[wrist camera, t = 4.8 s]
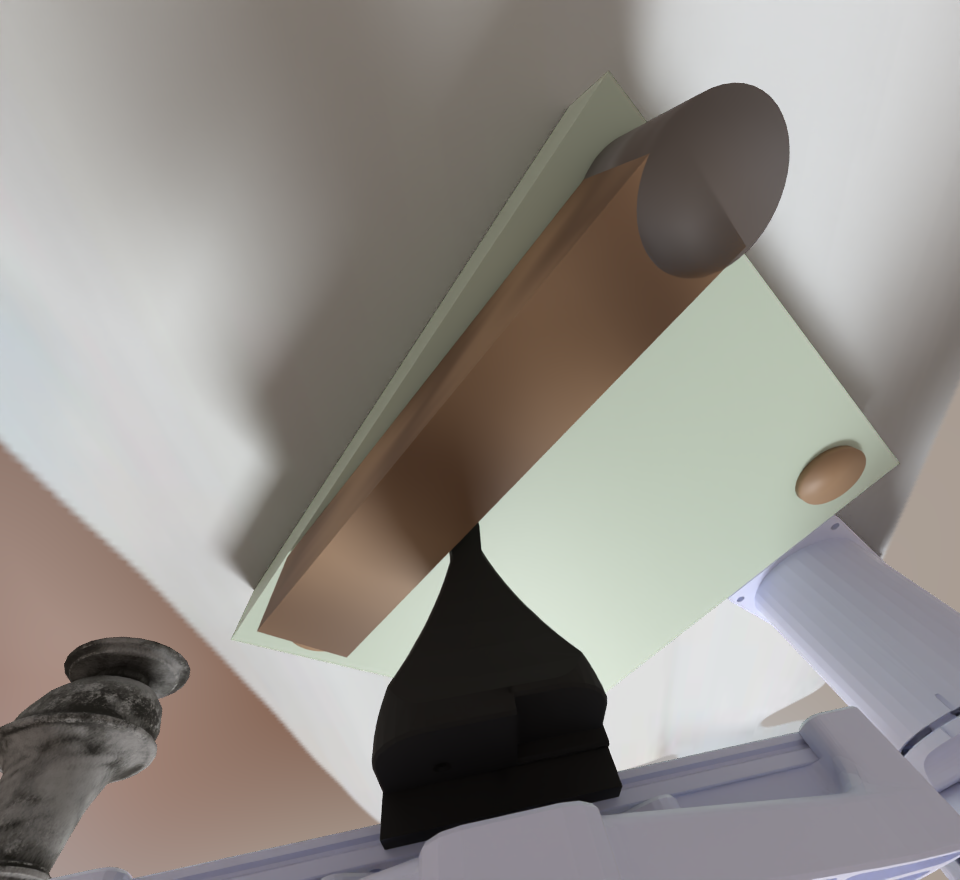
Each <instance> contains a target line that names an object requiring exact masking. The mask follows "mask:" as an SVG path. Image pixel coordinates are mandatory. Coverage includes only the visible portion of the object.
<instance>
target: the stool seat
mask: <svg viewBox="0 0 960 880" xmlns="http://www.w3.org/2000/svg"><path fill="white" fill-rule="evenodd" d="M644 123H646V120H645V119H644V118H643V116H642V115H641V114H640V112H639V111H638V110H637V108H636V107H635V105H634V104H633V103H632V101H631V100H630V99H629V97H628V96H627V95H626V93H625V92H624V91H623V89H622V88H621V87H620V85H619V84H618V83H617V81H616V80H615V79H614V77H613V76H612V74H611V73H610V72H609V71H607V72H606V73H605V74H604V75H603V76H602V77H601V78H600V79H599V80H598V81H596V82H595V83H594V84H593V85H592V86H591V87H590V88H589V89H588V90H586V91H585V92H584V93H583V94H582V95H581V96H580V97H579V98H578V99H577V100H575V101H574V102H573V103H572V104H571V105H570V106H569V107H568V109H567V110H566V112H565V113H564V115H563V116H562V118H561V119H560V121H559V123H558V124H557V126H556V127H555V129H554V130H553V132H552V133H551V135H550V136H549V138H548V139H547V141H546V143H545V144H544V146H543V147H542V149H541V150H540V152H539V153H538V155H537V156H536V158H535V159H534V161H533V162H532V164H531V166H530V167H529V169H528V170H527V172H526V173H525V175H524V176H523V178H522V179H521V181H520V182H519V184H518V186H517V187H516V189H515V190H514V192H513V193H512V195H511V196H510V198H509V199H508V201H507V202H506V204H505V206H504V207H503V209H502V210H501V212H500V213H499V215H498V216H497V218H496V219H495V221H494V222H493V224H492V225H491V227H490V229H489V230H488V232H487V233H486V235H485V236H484V238H483V239H482V241H481V242H480V244H479V245H478V247H477V249H476V250H475V252H474V253H473V255H472V256H471V258H470V259H469V261H468V262H467V264H466V265H465V267H464V269H463V270H462V272H461V273H460V275H459V276H458V278H457V279H456V281H455V282H454V284H453V285H452V287H451V288H450V290H449V292H448V293H447V295H446V296H445V298H444V299H443V301H442V302H441V304H440V305H439V307H438V308H437V310H436V312H435V313H434V315H433V316H432V318H431V319H430V321H429V322H428V324H427V325H426V327H425V328H424V330H423V332H422V333H421V335H420V336H419V338H418V339H417V341H416V342H415V344H414V345H413V347H412V348H411V350H410V351H409V353H408V355H407V356H406V358H405V359H404V361H403V362H402V364H401V365H400V367H399V368H398V370H397V371H396V373H395V375H394V376H393V378H392V379H391V381H390V382H389V384H388V385H387V387H386V388H385V390H384V391H383V393H382V395H381V396H380V398H379V399H378V401H377V402H376V404H375V405H374V407H373V408H372V410H371V411H370V413H369V414H368V416H367V418H366V419H365V421H364V422H363V424H362V425H361V427H360V428H359V430H358V431H357V433H356V434H355V436H354V438H353V439H352V441H351V442H350V444H349V445H348V447H347V448H346V450H345V451H344V453H343V454H342V456H341V457H340V459H339V461H338V462H337V464H336V465H335V467H334V468H333V470H332V471H331V473H330V474H329V476H328V477H327V479H326V481H325V482H324V484H323V485H322V487H321V488H320V490H319V491H318V493H317V494H316V496H315V497H314V499H313V501H312V502H311V504H310V505H309V507H308V508H307V510H306V511H305V513H304V514H303V516H302V517H301V519H300V520H299V522H298V524H297V525H296V527H295V528H294V530H293V531H292V533H291V534H290V536H289V537H288V539H287V540H286V542H285V544H284V545H283V547H282V548H281V550H280V551H279V553H278V554H277V556H276V557H275V559H274V560H273V562H272V564H271V565H270V567H269V568H268V570H267V571H266V573H265V574H264V576H263V577H262V579H261V580H260V582H259V583H258V585H257V587H256V588H255V590H254V591H253V593H252V596H251V598H250V600H249V602H248V604H247V606H246V608H245V611H244V613H243V615H242V617H241V619H240V621H239V623H238V626H237V628H236V630H235V632H234V634H233V636H232V638H231V640H233V641H238V642H242V643H246V644H251V645H255V646H259V647H263V648H268V649H272V650H276V651H280V652H285V653H289V654H293V655H298V656H302V657H306V658H310V659H315V660H319V661H323V662H327V663H332V664H336V665H340V666H345V667H349V668H353V669H357V670H362V671H366V672H370V673H374V674H379V675H383V676H387V677H392V678H394V676H395V674H396V673H397V671H398V670H399V668H400V667H401V665H402V664H403V662H404V661H405V659H406V658H407V656H408V654H409V653H410V651H411V649H412V647H413V646H414V644H415V642H416V640H417V639H418V637H419V635H420V633H421V631H422V630H423V628H424V626H425V624H426V622H427V620H428V618H429V615H430V613H431V611H432V609H433V607H434V605H435V602H436V600H437V597H438V595H439V593H440V590H441V587H442V585H443V582H444V579H445V576H446V573H447V570H448V566H449V563H450V556H449V553H448V554H447V555H446V556H445V557H444V558H443V559H442V560H441V561H440V562H439V563H438V564H437V565H436V566H435V567H434V568H433V569H432V570H431V571H430V573H429V574H428V575H427V576H426V577H425V578H424V579H423V580H422V581H421V582H420V583H419V584H418V585H417V586H416V587H415V588H414V589H413V590H412V591H411V592H410V593H409V594H408V595H407V596H406V597H405V598H404V599H403V600H402V601H401V602H400V603H399V604H398V605H397V606H396V607H395V609H394V610H393V611H392V612H391V613H390V614H389V615H388V616H387V617H386V618H385V619H384V620H383V621H382V622H381V623H380V624H379V625H378V626H377V627H376V628H375V629H374V630H373V631H372V632H371V633H370V634H369V635H368V636H367V637H366V638H365V639H364V640H363V641H362V642H361V643H360V645H359V646H358V647H357V648H356V649H355V650H354V651H353V652H352V653H351V654H350V655H349V656H348V657H347V658H346V657H343V656H339V655H336V654H332V653H329V652H325V651H322V650H319V649H315V648H312V647H308V646H305V645H302V644H298V643H295V642H291V641H288V640H284V639H281V638H278V637H274V636H271V635H267V634H264V633H261V632H257V630H258V627H259V625H260V622H261V620H262V617H263V615H264V613H265V610H266V608H267V605H268V603H269V600H270V598H271V595H272V593H273V591H274V588H275V586H276V583H277V581H278V578H279V576H280V573H281V571H282V569H283V566H284V564H285V561H286V559H287V557H288V555H289V554H290V553H291V551H292V550H293V549H294V548H295V546H296V545H297V544H298V543H299V541H300V540H301V539H302V537H303V536H304V535H305V534H306V532H307V531H308V530H309V529H310V527H311V526H312V525H313V523H314V522H315V521H316V520H317V518H318V517H319V516H320V515H321V513H322V512H323V511H324V509H325V508H326V507H327V506H328V504H329V503H330V502H331V501H332V499H333V498H334V497H335V495H336V494H337V493H338V492H339V490H340V489H341V488H342V487H343V485H344V484H345V483H346V481H347V480H348V479H349V478H350V476H351V475H352V474H353V473H354V471H355V470H356V469H357V467H358V466H359V465H360V464H361V462H362V461H363V460H364V459H365V457H366V456H367V455H368V453H369V452H370V451H371V450H372V448H373V447H374V446H375V445H376V443H377V442H378V441H379V439H380V438H381V437H382V436H383V434H384V433H385V432H386V431H387V429H388V428H389V427H390V425H391V424H392V423H393V422H394V420H395V419H396V418H397V417H398V415H399V414H400V413H401V411H402V410H403V409H404V408H405V406H406V405H407V404H408V403H409V401H410V400H411V399H412V397H413V396H414V395H415V394H416V392H417V391H418V390H419V389H420V387H421V386H422V385H423V383H424V382H425V381H426V380H427V378H428V377H429V376H430V375H431V373H432V372H433V371H434V369H435V368H436V367H437V366H438V364H439V363H440V362H441V361H442V359H443V358H444V357H445V355H446V354H447V353H448V352H449V350H450V349H451V348H452V347H453V345H454V344H455V343H456V341H457V340H458V339H459V338H460V336H461V335H462V334H463V333H464V331H465V330H466V329H467V327H468V326H469V325H470V324H471V322H472V321H473V320H474V319H475V317H476V316H477V315H478V313H479V312H480V311H481V310H482V308H483V307H484V306H485V305H486V303H487V302H488V301H489V299H490V298H491V297H492V296H493V294H494V293H495V292H496V291H497V289H498V288H499V287H500V285H501V284H502V283H503V282H504V280H505V279H506V278H507V277H508V275H509V274H510V273H511V271H512V270H513V269H514V268H515V266H516V265H517V264H518V263H519V261H520V260H521V259H522V257H523V256H524V255H525V254H526V252H527V251H528V250H529V249H530V247H531V246H532V245H533V243H534V242H535V241H536V240H537V238H538V237H539V236H540V235H541V233H542V232H543V231H544V229H545V228H546V227H547V226H548V224H549V223H550V222H551V221H552V219H553V218H554V217H555V215H556V214H557V213H558V212H559V210H560V209H561V208H562V207H563V205H564V204H565V203H566V201H567V200H568V199H569V198H570V196H571V195H572V194H573V193H574V191H575V190H576V189H577V187H578V186H579V185H580V184H581V182H582V181H583V180H584V178H585V175H586V173H587V171H588V169H589V168H590V166H591V164H592V163H593V161H594V160H595V158H596V157H597V156H598V155H599V153H600V152H601V151H602V150H603V149H604V148H605V147H606V146H607V145H608V144H610V143H611V142H612V141H614V140H615V139H617V138H618V137H620V136H622V135H624V134H626V133H628V132H629V131H631V130H633V129H635V128H637V127H639V126H641V125H643V124H644ZM898 464H900V463H899V462H898V460H897V459H896V458H895V456H894V455H893V453H892V452H891V451H890V449H889V448H888V447H887V445H886V444H885V443H884V441H883V440H882V439H881V437H880V436H879V435H878V433H877V432H876V431H875V429H874V428H873V427H872V425H871V424H870V422H869V421H868V420H867V418H866V417H865V416H864V414H863V413H862V412H861V410H860V409H859V408H858V406H857V405H856V404H855V402H854V401H853V400H852V398H851V397H850V395H849V394H848V393H847V391H846V390H845V389H844V387H843V386H842V385H841V383H840V382H839V381H838V379H837V378H836V377H835V375H834V374H833V373H832V371H831V370H830V369H829V367H828V366H827V364H826V363H825V362H824V360H823V359H822V358H821V356H820V355H819V354H818V352H817V351H816V350H815V348H814V347H813V346H812V344H811V343H810V342H809V340H808V339H807V337H806V336H805V335H804V333H803V332H802V331H801V329H800V328H799V327H798V325H797V324H796V323H795V321H794V320H793V319H792V317H791V316H790V315H789V313H788V312H787V311H786V309H785V308H784V306H783V305H782V304H781V302H780V301H779V300H778V298H777V297H776V296H775V294H774V293H773V292H772V290H771V289H770V288H769V286H768V285H767V284H766V282H765V281H764V279H763V278H762V277H761V275H760V274H759V273H758V271H757V270H756V269H755V267H754V266H753V265H752V263H751V262H750V261H749V259H748V258H747V257H746V255H745V254H743V255H742V256H741V257H740V258H739V259H738V260H736V261H735V262H734V263H733V264H731V265H730V266H728V267H726V268H725V269H724V270H723V271H722V272H721V273H720V274H719V275H718V276H717V277H716V278H715V279H714V280H713V281H712V282H711V283H710V284H709V285H708V286H707V288H706V289H705V290H704V291H703V292H702V293H701V294H700V295H699V296H698V297H697V298H696V299H695V300H694V301H693V302H692V303H691V304H690V305H689V306H688V307H687V308H686V309H685V310H684V311H683V312H682V313H681V314H680V315H679V316H678V317H677V318H676V319H675V320H674V321H673V322H672V324H671V325H670V326H669V327H668V328H667V329H666V330H665V331H664V332H663V333H662V334H661V335H660V336H659V337H658V338H657V339H656V340H655V341H654V342H653V343H652V344H651V345H650V346H649V347H648V348H647V349H646V350H645V351H644V352H643V353H642V354H641V355H640V356H639V357H638V358H637V360H636V361H635V362H634V363H633V364H632V365H631V366H630V367H629V368H628V369H627V370H626V371H625V372H624V373H623V374H622V375H621V376H620V377H619V378H618V379H617V380H616V381H615V382H614V383H613V384H612V385H611V386H610V387H609V388H608V389H607V390H606V391H605V392H604V393H603V395H602V396H601V397H600V398H599V399H598V400H597V401H596V402H595V403H594V404H593V405H592V406H591V407H590V408H589V409H588V410H587V411H586V412H585V413H584V414H583V415H582V416H581V417H580V418H579V419H578V420H577V421H576V422H575V423H574V424H573V425H572V426H571V427H570V428H569V429H568V431H567V432H566V433H565V434H564V435H563V436H562V437H561V438H560V439H559V440H558V441H557V442H556V443H555V444H554V445H553V446H552V447H551V448H550V449H549V450H548V451H547V452H546V453H545V454H544V455H543V456H542V457H541V458H540V459H539V460H538V461H537V462H536V463H535V464H534V465H533V467H532V468H531V469H530V470H529V471H528V472H527V473H526V474H525V475H524V476H523V477H522V478H521V479H520V480H519V481H518V482H517V483H516V484H515V485H514V486H513V487H512V488H511V489H510V490H509V491H508V492H507V493H506V494H505V495H504V496H503V497H502V498H501V499H500V500H499V502H498V503H497V504H496V505H495V506H494V507H493V508H492V509H491V510H490V511H489V512H488V513H487V514H486V515H485V516H484V517H483V518H482V519H481V520H480V521H479V526H480V538H481V550H482V551H483V553H484V555H485V556H486V558H487V559H488V561H489V562H490V563H491V565H492V566H493V568H494V569H495V570H496V572H497V573H498V574H499V576H500V577H501V578H502V579H503V581H504V582H505V583H506V584H507V585H508V586H509V588H510V589H511V590H512V591H513V592H514V593H515V594H516V595H517V596H518V598H519V599H520V600H521V601H522V602H523V603H524V604H525V605H526V606H527V607H528V608H529V609H531V610H532V611H533V612H534V613H535V614H536V615H537V616H538V617H539V618H540V619H541V620H542V621H543V622H544V623H546V624H547V625H548V626H549V627H550V628H552V629H553V630H554V631H555V632H556V633H557V634H559V635H560V636H561V637H563V638H564V639H565V640H566V641H568V642H569V643H570V644H572V645H573V646H574V647H576V648H577V649H579V650H580V651H581V652H582V653H583V654H584V656H585V657H586V659H587V660H588V662H589V663H590V665H591V666H592V668H593V670H594V671H595V673H596V675H597V677H598V679H599V680H600V682H601V684H602V686H603V688H604V691H605V693H606V692H608V691H609V690H610V689H611V688H613V687H614V686H615V685H617V684H618V683H619V682H620V681H622V680H623V679H624V678H625V677H627V676H628V675H629V674H631V673H632V672H633V671H634V670H636V669H637V668H638V667H640V666H641V665H642V664H643V663H645V662H646V661H647V660H649V659H650V658H651V657H652V656H654V655H655V654H656V653H657V652H659V651H660V650H661V649H663V648H664V647H665V646H666V645H668V644H669V643H670V642H672V641H673V640H674V639H675V638H677V637H678V636H679V635H681V634H682V633H683V632H684V631H686V630H687V629H688V628H690V627H691V626H692V625H693V624H695V623H696V622H697V621H698V620H700V619H701V618H702V617H704V616H705V615H706V614H707V613H709V612H710V611H711V610H713V609H714V608H715V607H716V606H718V605H719V604H720V603H722V602H723V601H724V600H725V599H727V598H728V597H729V596H730V595H732V594H733V593H734V592H736V591H737V590H738V589H739V588H741V587H742V586H743V585H745V584H746V583H747V582H748V581H750V580H751V579H752V578H754V577H755V576H756V575H757V574H759V573H760V572H761V571H763V570H764V569H765V568H766V567H768V566H769V565H770V564H771V563H773V562H774V561H775V560H777V559H778V558H779V557H780V556H782V555H783V554H784V553H786V552H787V551H788V550H789V549H791V548H792V547H793V546H795V545H796V544H797V543H798V542H800V541H801V540H802V539H803V538H805V537H806V536H807V535H809V534H810V533H811V532H812V531H814V530H815V529H816V528H818V527H819V526H820V525H821V524H823V523H824V522H825V521H827V520H828V519H829V518H830V517H832V516H833V515H834V514H836V513H837V512H838V511H839V510H841V509H842V508H843V507H844V506H846V505H847V504H848V503H850V502H851V501H852V500H853V499H855V498H856V497H857V496H859V495H860V494H861V493H862V492H864V491H865V490H866V489H868V488H869V487H870V486H871V485H873V484H874V483H875V482H876V481H878V480H879V479H880V478H882V477H883V476H884V475H885V474H887V473H888V472H889V471H891V470H892V469H893V468H894V467H896V466H897V465H898Z"/></svg>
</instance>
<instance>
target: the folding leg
mask: <svg viewBox="0 0 960 880" xmlns="http://www.w3.org/2000/svg"><path fill="white" fill-rule="evenodd" d="M788 166H789V136H788V131H787V126H786V123H785V120H784V117H783V115H782V113H781V111H780V109H779V107H778V105H777V104H776V103H775V102H774V100H773V99H772V98H771V97H770V96H769V95H768V94H767V93H765V92H764V91H763V90H761V89H759V88H757V87H755V86H752V85H749V84H745V83H729V84H722V85H719V86H716V87H713V88H711V89H709V90H707V91H705V92H703V93H701V94H699V95H697V96H695V97H693V98H691V99H689V100H687V101H686V102H684V103H682V104H680V105H678V106H676V107H674V108H673V109H671V110H669V111H667V112H665V113H663V114H661V115H659V116H658V117H656V118H654V119H652V120H650V121H648V122H646V123H644V124H643V125H641V126H639V127H637V128H635V129H633V130H631V131H629V132H628V133H626V134H624V135H622V136H620V137H618V138H617V139H615V140H614V141H612V142H611V143H610V144H608V145H607V146H606V147H605V148H604V149H603V150H602V151H601V152H600V153H599V155H598V156H597V157H596V158H595V160H594V161H593V163H592V164H591V166H590V168H589V169H588V171H587V173H586V175H585V178H584V180H583V181H582V182H581V184H580V185H579V186H578V187H577V189H576V190H575V191H574V193H573V194H572V195H571V196H570V198H569V199H568V200H567V201H566V203H565V204H564V205H563V207H562V208H561V209H560V210H559V212H558V213H557V214H556V215H555V217H554V218H553V219H552V221H551V222H550V223H549V224H548V226H547V227H546V228H545V229H544V231H543V232H542V233H541V235H540V236H539V237H538V238H537V240H536V241H535V242H534V243H533V245H532V246H531V247H530V249H529V250H528V251H527V252H526V254H525V255H524V256H523V257H522V259H521V260H520V261H519V263H518V264H517V265H516V266H515V268H514V269H513V270H512V271H511V273H510V274H509V275H508V277H507V278H506V279H505V280H504V282H503V283H502V284H501V285H500V287H499V288H498V289H497V291H496V292H495V293H494V294H493V296H492V297H491V298H490V299H489V301H488V302H487V303H486V305H485V306H484V307H483V308H482V310H481V311H480V312H479V313H478V315H477V316H476V317H475V319H474V320H473V321H472V322H471V324H470V325H469V326H468V327H467V329H466V330H465V331H464V333H463V334H462V335H461V336H460V338H459V339H458V340H457V341H456V343H455V344H454V345H453V347H452V348H451V349H450V350H449V352H448V353H447V354H446V355H445V357H444V358H443V359H442V361H441V362H440V363H439V364H438V366H437V367H436V368H435V369H434V371H433V372H432V373H431V375H430V376H429V377H428V378H427V380H426V381H425V382H424V383H423V385H422V386H421V387H420V389H419V390H418V391H417V392H416V394H415V395H414V396H413V397H412V399H411V400H410V401H409V403H408V404H407V405H406V406H405V408H404V409H403V410H402V411H401V413H400V414H399V415H398V417H397V418H396V419H395V420H394V422H393V423H392V424H391V425H390V427H389V428H388V429H387V431H386V432H385V433H384V434H383V436H382V437H381V438H380V439H379V441H378V442H377V443H376V445H375V446H374V447H373V448H372V450H371V451H370V452H369V453H368V455H367V456H366V457H365V459H364V460H363V461H362V462H361V464H360V465H359V466H358V467H357V469H356V470H355V471H354V473H353V474H352V475H351V476H350V478H349V479H348V480H347V481H346V483H345V484H344V485H343V487H342V488H341V489H340V490H339V492H338V493H337V494H336V495H335V497H334V498H333V499H332V501H331V502H330V503H329V504H328V506H327V507H326V508H325V509H324V511H323V512H322V513H321V515H320V516H319V517H318V518H317V520H316V521H315V522H314V523H313V525H312V526H311V527H310V529H309V530H308V531H307V532H306V534H305V535H304V536H303V537H302V539H301V540H300V541H299V543H298V544H297V545H296V546H295V548H294V549H293V550H292V551H291V553H290V554H289V555H288V557H287V559H286V561H285V564H284V566H283V569H282V571H281V573H280V576H279V578H278V581H277V583H276V586H275V588H274V591H273V593H272V595H271V598H270V600H269V603H268V605H267V608H266V610H265V613H264V615H263V617H262V620H261V622H260V625H259V627H258V630H257V632H261V633H264V634H267V635H271V636H274V637H278V638H281V639H284V640H288V641H291V642H295V643H298V644H302V645H305V646H308V647H312V648H315V649H319V650H322V651H325V652H329V653H332V654H336V655H339V656H343V657H346V658H347V657H348V656H349V655H350V654H351V653H352V652H353V651H354V650H355V649H356V648H357V647H358V646H359V645H360V643H361V642H362V641H363V640H364V639H365V638H366V637H367V636H368V635H369V634H370V633H371V632H372V631H373V630H374V629H375V628H376V627H377V626H378V625H379V624H380V623H381V622H382V621H383V620H384V619H385V618H386V617H387V616H388V615H389V614H390V613H391V612H392V611H393V610H394V609H395V607H396V606H397V605H398V604H399V603H400V602H401V601H402V600H403V599H404V598H405V597H406V596H407V595H408V594H409V593H410V592H411V591H412V590H413V589H414V588H415V587H416V586H417V585H418V584H419V583H420V582H421V581H422V580H423V579H424V578H425V577H426V576H427V575H428V574H429V573H430V571H431V570H432V569H433V568H434V567H435V566H436V565H437V564H438V563H439V562H440V561H441V560H442V559H443V558H444V557H445V556H446V555H447V554H448V553H449V552H450V551H451V550H452V549H453V548H454V547H455V546H456V545H457V544H458V543H459V542H460V541H461V540H462V539H463V538H464V536H465V535H466V534H467V533H468V532H469V531H470V530H471V529H472V528H473V527H474V526H475V525H476V524H477V523H478V522H479V521H480V520H481V519H482V518H483V517H484V516H485V515H486V514H487V513H488V512H489V511H490V510H491V509H492V508H493V507H494V506H495V505H496V504H497V503H498V502H499V500H500V499H501V498H502V497H503V496H504V495H505V494H506V493H507V492H508V491H509V490H510V489H511V488H512V487H513V486H514V485H515V484H516V483H517V482H518V481H519V480H520V479H521V478H522V477H523V476H524V475H525V474H526V473H527V472H528V471H529V470H530V469H531V468H532V467H533V465H534V464H535V463H536V462H537V461H538V460H539V459H540V458H541V457H542V456H543V455H544V454H545V453H546V452H547V451H548V450H549V449H550V448H551V447H552V446H553V445H554V444H555V443H556V442H557V441H558V440H559V439H560V438H561V437H562V436H563V435H564V434H565V433H566V432H567V431H568V429H569V428H570V427H571V426H572V425H573V424H574V423H575V422H576V421H577V420H578V419H579V418H580V417H581V416H582V415H583V414H584V413H585V412H586V411H587V410H588V409H589V408H590V407H591V406H592V405H593V404H594V403H595V402H596V401H597V400H598V399H599V398H600V397H601V396H602V395H603V393H604V392H605V391H606V390H607V389H608V388H609V387H610V386H611V385H612V384H613V383H614V382H615V381H616V380H617V379H618V378H619V377H620V376H621V375H622V374H623V373H624V372H625V371H626V370H627V369H628V368H629V367H630V366H631V365H632V364H633V363H634V362H635V361H636V360H637V358H638V357H639V356H640V355H641V354H642V353H643V352H644V351H645V350H646V349H647V348H648V347H649V346H650V345H651V344H652V343H653V342H654V341H655V340H656V339H657V338H658V337H659V336H660V335H661V334H662V333H663V332H664V331H665V330H666V329H667V328H668V327H669V326H670V325H671V324H672V322H673V321H674V320H675V319H676V318H677V317H678V316H679V315H680V314H681V313H682V312H683V311H684V310H685V309H686V308H687V307H688V306H689V305H690V304H691V303H692V302H693V301H694V300H695V299H696V298H697V297H698V296H699V295H700V294H701V293H702V292H703V291H704V290H705V289H706V288H707V286H708V285H709V284H710V283H711V282H712V281H713V280H714V279H715V278H716V277H717V276H718V275H719V274H720V273H721V272H722V271H723V270H724V269H725V268H726V267H728V266H730V265H731V264H733V263H734V262H735V261H736V260H738V259H739V258H740V257H741V256H742V255H743V254H745V253H746V252H747V251H748V250H749V249H750V248H751V246H752V245H753V244H754V243H755V242H756V241H757V239H758V238H759V237H760V235H761V234H762V233H763V231H764V230H765V228H766V227H767V225H768V223H769V222H770V220H771V218H772V216H773V214H774V212H775V210H776V208H777V206H778V203H779V201H780V198H781V196H782V192H783V189H784V186H785V182H786V178H787V173H788Z"/></svg>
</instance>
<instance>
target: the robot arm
mask: <svg viewBox="0 0 960 880" xmlns="http://www.w3.org/2000/svg"><path fill="white" fill-rule="evenodd" d="M449 556H450V563H449V566H448V570H447V573H446V576H445V579H444V582H443V585H442V587H441V590H440V593H439V595H438V597H437V600H436V602H435V605H434V607H433V609H432V611H431V613H430V615H429V618H428V620H427V622H426V624H425V626H424V628H423V630H422V631H421V633H420V635H419V637H418V639H417V640H416V642H415V644H414V646H413V647H412V649H411V651H410V653H409V654H408V656H407V658H406V659H405V661H404V662H403V664H402V665H401V667H400V668H399V670H398V671H397V673H396V674H395V676H394V678H393V679H392V681H391V682H390V684H389V685H388V687H387V690H386V693H385V696H384V699H383V702H382V705H381V709H380V712H379V716H378V720H377V724H376V729H375V735H374V743H373V754H372V767H373V770H374V773H375V775H376V777H377V780H378V782H379V784H380V787H381V789H382V791H383V799H382V813H381V824H378V825H373V826H369V827H364V828H360V829H355V830H351V831H346V832H342V833H338V834H332V835H328V836H323V837H319V838H315V839H310V840H306V841H301V842H296V843H292V844H287V845H283V846H279V847H273V848H269V849H265V850H260V851H255V852H251V853H247V854H242V855H237V856H233V857H228V858H224V859H219V860H214V861H210V862H206V863H201V864H197V865H192V866H188V867H183V868H178V869H174V870H169V871H165V872H160V873H155V874H151V875H147V876H142V877H137V878H132V876H131V874H130V873H129V872H127V871H126V870H124V869H121V868H117V867H106V868H98V869H93V870H88V871H84V872H79V873H74V874H70V875H65V876H61V877H56V878H51V879H48V880H920V879H922V878H924V877H925V876H927V875H929V874H931V873H932V872H934V871H936V870H938V869H939V868H940V869H941V870H942V872H943V873H944V874H945V875H946V877H947V878H948V879H949V880H960V613H958V612H957V611H956V610H954V609H953V608H951V607H950V606H948V605H947V604H945V603H944V602H942V601H941V600H939V599H938V598H936V597H935V596H933V595H932V594H930V593H929V592H927V591H926V590H924V589H923V588H921V587H920V586H918V585H917V584H916V583H914V582H913V581H911V580H910V579H908V578H906V577H905V576H903V575H902V574H901V573H899V572H898V571H896V570H895V569H893V568H892V567H890V566H889V565H887V564H886V563H885V562H884V561H883V560H882V559H881V558H880V557H879V556H878V555H877V554H876V553H875V552H874V551H873V550H872V549H871V548H870V547H869V546H868V545H867V544H866V543H865V542H864V541H863V540H861V539H860V538H859V537H858V536H857V535H856V534H855V533H854V532H853V531H852V530H851V529H850V528H849V527H848V526H847V525H846V524H845V523H844V522H843V521H842V520H841V519H840V518H839V517H837V516H836V515H833V516H832V517H830V518H829V519H828V520H827V521H825V522H824V523H823V524H821V525H820V526H819V527H818V528H816V529H815V530H814V531H812V532H811V533H810V534H809V535H807V536H806V537H805V538H803V539H802V540H801V541H800V542H798V543H797V544H796V545H795V546H793V547H792V548H791V549H789V550H788V551H787V552H786V553H784V554H783V555H782V556H780V557H779V558H778V559H777V560H775V561H774V562H773V563H771V564H770V565H769V566H768V567H766V568H765V569H764V570H763V571H761V572H760V573H759V574H757V575H756V576H755V577H754V578H752V579H751V580H750V581H748V582H747V583H746V584H745V585H743V586H742V587H741V588H739V589H738V590H737V591H736V592H734V593H733V594H732V595H730V596H729V597H728V599H729V600H730V601H731V602H733V603H734V604H736V605H738V606H740V607H741V608H743V609H745V610H747V611H748V612H750V613H752V614H754V615H756V616H757V617H759V618H761V619H763V620H764V621H766V622H768V623H770V624H771V625H773V626H774V628H775V629H776V630H777V631H778V632H779V633H780V634H781V635H782V636H783V637H784V638H785V639H786V640H787V641H788V642H789V643H790V644H791V646H792V647H793V648H794V649H795V650H796V651H797V652H798V653H799V654H800V655H801V656H802V657H803V658H804V659H805V660H806V661H807V662H808V664H809V665H810V666H811V667H812V668H813V669H814V670H815V671H816V672H817V673H818V674H819V675H820V676H821V677H822V678H823V679H824V680H825V682H826V683H827V684H828V685H829V686H830V687H831V688H832V689H833V690H834V691H835V692H836V693H837V694H838V695H839V696H840V697H841V698H842V699H843V700H844V702H845V703H846V704H847V705H848V706H849V707H845V708H840V709H835V710H831V711H826V712H821V713H818V714H815V715H812V716H811V717H809V718H807V719H806V720H805V721H804V722H803V723H802V725H801V726H800V728H799V732H795V733H791V734H786V735H782V736H777V737H773V738H768V739H764V740H759V741H755V742H750V743H745V744H741V745H736V746H732V747H727V748H723V749H718V750H714V751H709V752H705V753H700V754H696V755H691V756H686V757H682V758H677V759H673V760H668V761H664V762H660V763H655V764H650V765H646V766H641V767H637V768H632V769H627V770H623V771H618V772H617V770H616V767H615V764H614V762H613V759H612V756H611V754H610V751H609V749H608V746H609V740H608V737H607V734H606V732H605V729H604V726H603V720H604V715H605V711H606V706H607V696H606V694H605V691H604V688H603V686H602V684H601V682H600V680H599V679H598V677H597V675H596V673H595V671H594V670H593V668H592V666H591V665H590V663H589V662H588V660H587V659H586V657H585V656H584V654H583V653H582V652H581V651H580V650H579V649H577V648H576V647H574V646H573V645H572V644H570V643H569V642H568V641H566V640H565V639H564V638H563V637H561V636H560V635H559V634H557V633H556V632H555V631H554V630H553V629H552V628H550V627H549V626H548V625H547V624H546V623H544V622H543V621H542V620H541V619H540V618H539V617H538V616H537V615H536V614H535V613H534V612H533V611H532V610H531V609H529V608H528V607H527V606H526V605H525V604H524V603H523V602H522V601H521V600H520V599H519V598H518V596H517V595H516V594H515V593H514V592H513V591H512V590H511V589H510V588H509V586H508V585H507V584H506V583H505V582H504V581H503V579H502V578H501V577H500V576H499V574H498V573H497V572H496V570H495V569H494V568H493V566H492V565H491V563H490V562H489V561H488V559H487V558H486V556H485V555H484V553H483V551H482V550H481V538H480V526H479V522H478V523H477V524H476V525H475V526H474V527H473V528H472V529H471V530H470V531H469V532H468V533H467V534H466V535H465V536H464V538H463V539H462V540H461V541H460V542H459V543H458V544H457V545H456V546H455V547H454V548H453V549H452V550H451V551H450V552H449Z"/></svg>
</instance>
